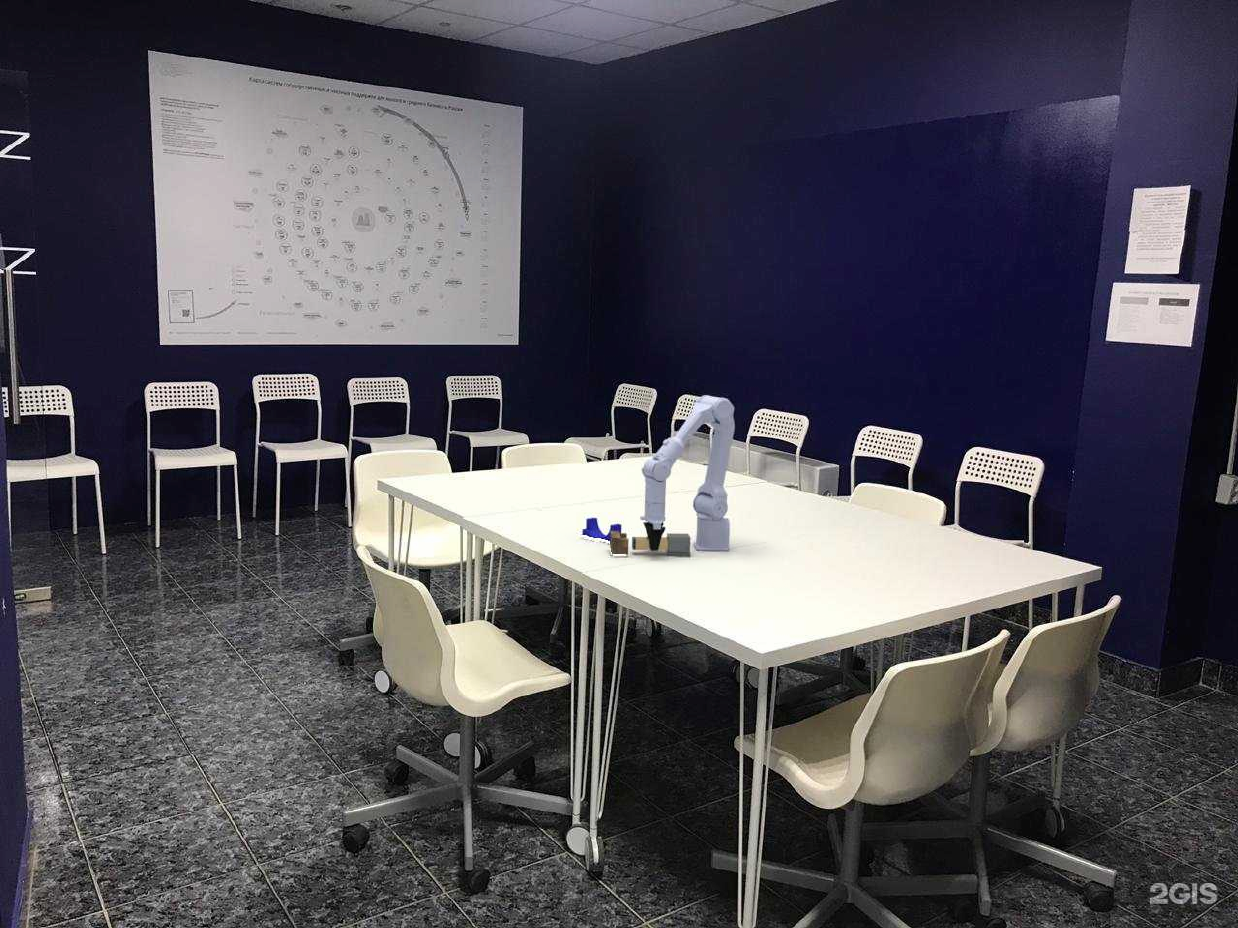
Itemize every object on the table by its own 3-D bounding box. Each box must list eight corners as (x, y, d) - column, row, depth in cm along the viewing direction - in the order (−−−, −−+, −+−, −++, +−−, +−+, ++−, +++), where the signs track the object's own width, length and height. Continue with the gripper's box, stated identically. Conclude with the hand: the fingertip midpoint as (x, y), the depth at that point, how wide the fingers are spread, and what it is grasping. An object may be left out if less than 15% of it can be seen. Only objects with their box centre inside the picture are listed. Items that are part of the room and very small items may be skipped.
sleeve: (687, 551, 285) (687, 533, 285) (689, 556, 279) (690, 538, 279) (666, 551, 285) (666, 532, 284) (668, 556, 279) (669, 537, 278)
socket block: (625, 550, 285) (626, 531, 284) (628, 557, 277) (628, 537, 276) (610, 549, 285) (610, 531, 284) (611, 556, 277) (612, 537, 276)
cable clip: (582, 539, 298) (582, 519, 297) (593, 536, 301) (593, 517, 300) (609, 546, 290) (610, 526, 289) (620, 544, 293) (621, 524, 292)
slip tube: (682, 547, 284) (683, 537, 283) (684, 550, 281) (684, 539, 280) (631, 547, 282) (632, 536, 282) (632, 549, 279) (633, 539, 279)
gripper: (638, 496, 286) (637, 542, 288) (643, 506, 272) (641, 555, 274) (662, 496, 287) (661, 543, 289) (669, 507, 272) (667, 555, 275)
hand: (653, 548), depth 281 cm, fingers closed on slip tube, 3 cm apart
